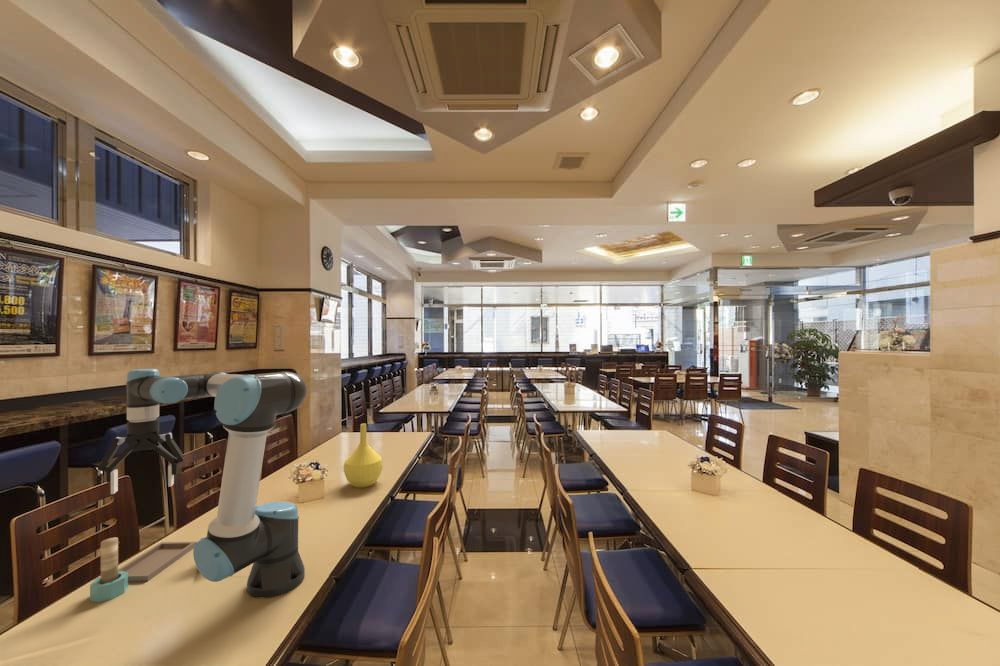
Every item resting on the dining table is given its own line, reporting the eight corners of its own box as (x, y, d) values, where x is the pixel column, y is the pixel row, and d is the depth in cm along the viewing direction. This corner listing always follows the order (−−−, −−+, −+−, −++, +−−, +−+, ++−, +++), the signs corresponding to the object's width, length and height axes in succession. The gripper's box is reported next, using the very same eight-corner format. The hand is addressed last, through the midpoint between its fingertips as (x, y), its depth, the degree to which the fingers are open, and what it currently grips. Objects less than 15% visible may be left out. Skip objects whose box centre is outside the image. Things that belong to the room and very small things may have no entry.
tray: (147, 583, 121) (147, 575, 121) (106, 584, 120) (106, 576, 120) (196, 548, 141) (196, 541, 141) (161, 549, 140) (161, 542, 140)
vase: (355, 476, 211) (355, 419, 211) (388, 478, 208) (388, 420, 209) (336, 490, 193) (336, 427, 193) (372, 492, 190) (372, 428, 190)
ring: (121, 599, 113) (121, 581, 114) (86, 607, 110) (86, 589, 110) (130, 585, 120) (130, 568, 120) (97, 592, 117) (97, 575, 117)
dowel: (115, 595, 114) (115, 541, 114) (98, 599, 113) (98, 545, 113) (120, 588, 117) (120, 536, 118) (103, 591, 116) (103, 539, 116)
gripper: (196, 413, 133) (196, 478, 133) (95, 420, 122) (95, 491, 122) (190, 418, 126) (190, 486, 126) (82, 426, 115) (82, 500, 115)
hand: (143, 488), depth 124 cm, fingers open, 13 cm apart
